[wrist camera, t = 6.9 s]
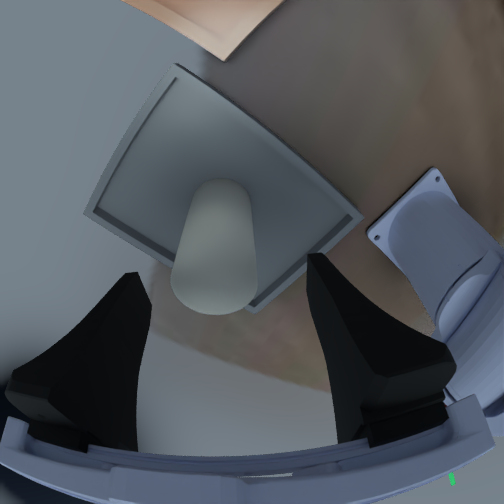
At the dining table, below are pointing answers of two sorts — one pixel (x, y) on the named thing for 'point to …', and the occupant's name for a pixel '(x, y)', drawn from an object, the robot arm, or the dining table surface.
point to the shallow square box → (211, 20)
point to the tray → (212, 167)
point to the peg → (216, 251)
